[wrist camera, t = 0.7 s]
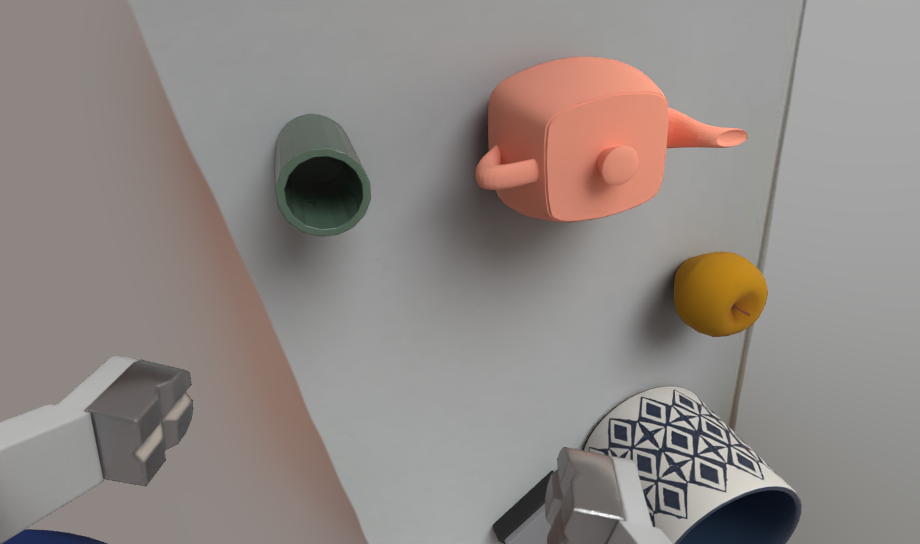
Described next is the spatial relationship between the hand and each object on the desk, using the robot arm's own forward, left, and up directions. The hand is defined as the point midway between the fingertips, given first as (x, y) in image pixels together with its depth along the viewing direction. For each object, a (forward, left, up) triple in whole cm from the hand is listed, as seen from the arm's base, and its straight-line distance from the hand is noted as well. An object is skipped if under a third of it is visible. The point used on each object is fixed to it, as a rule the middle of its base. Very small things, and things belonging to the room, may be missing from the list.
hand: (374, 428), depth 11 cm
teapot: (+13, -16, -33) cm, 39 cm away
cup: (-2, -2, -33) cm, 33 cm away
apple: (+14, -41, -33) cm, 55 cm away
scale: (-20, -56, -33) cm, 68 cm away
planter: (-4, -58, -33) cm, 67 cm away
